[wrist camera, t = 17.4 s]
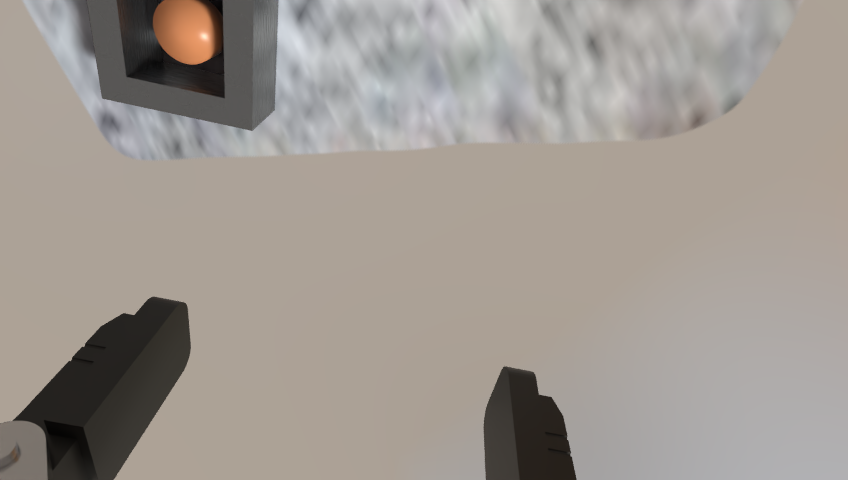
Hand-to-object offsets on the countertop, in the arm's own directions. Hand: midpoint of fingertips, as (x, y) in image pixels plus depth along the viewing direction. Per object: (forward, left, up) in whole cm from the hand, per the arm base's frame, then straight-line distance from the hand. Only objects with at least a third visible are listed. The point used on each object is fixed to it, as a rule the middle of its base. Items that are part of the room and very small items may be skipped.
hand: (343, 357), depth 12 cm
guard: (0, -17, -30) cm, 35 cm away
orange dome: (0, -17, -29) cm, 33 cm away
